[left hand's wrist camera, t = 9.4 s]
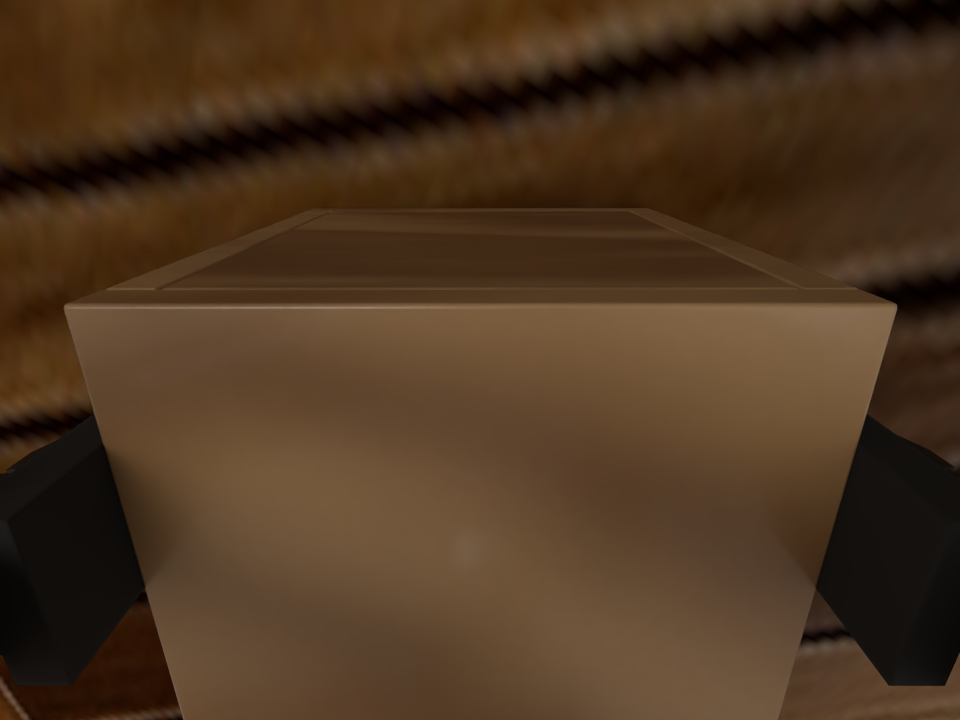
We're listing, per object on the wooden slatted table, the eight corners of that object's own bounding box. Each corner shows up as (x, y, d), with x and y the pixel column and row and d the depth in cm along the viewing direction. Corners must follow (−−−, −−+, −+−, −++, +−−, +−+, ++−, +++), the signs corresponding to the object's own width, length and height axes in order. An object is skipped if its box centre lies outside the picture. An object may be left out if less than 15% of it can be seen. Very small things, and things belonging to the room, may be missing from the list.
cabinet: (603, 626, 25) (698, 999, 14) (358, 626, 25) (263, 998, 14) (648, 207, 18) (902, 303, 7) (311, 208, 18) (59, 303, 7)
